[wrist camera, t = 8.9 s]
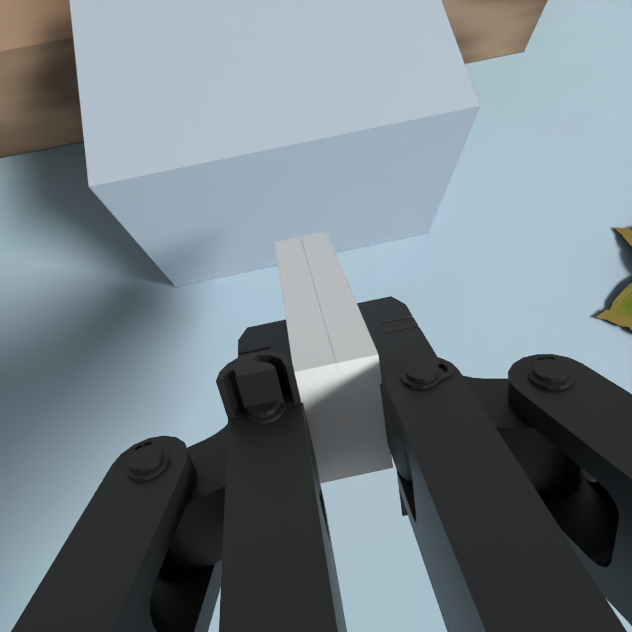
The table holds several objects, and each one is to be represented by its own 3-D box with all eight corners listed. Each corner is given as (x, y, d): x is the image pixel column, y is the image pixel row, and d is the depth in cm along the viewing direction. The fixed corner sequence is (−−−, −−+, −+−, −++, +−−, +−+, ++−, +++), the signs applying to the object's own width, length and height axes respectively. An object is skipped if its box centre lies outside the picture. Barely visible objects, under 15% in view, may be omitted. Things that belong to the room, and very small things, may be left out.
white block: (384, 95, 27) (410, -84, 18) (427, 234, 24) (479, 105, 16) (155, 142, 26) (67, -17, 17) (176, 287, 24) (88, 186, 15)
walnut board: (505, 7, 28) (551, -114, 22) (523, 51, 27) (576, -62, 21) (-14, 111, 27) (-108, 14, 21) (-12, 160, 26) (-110, 72, 20)
